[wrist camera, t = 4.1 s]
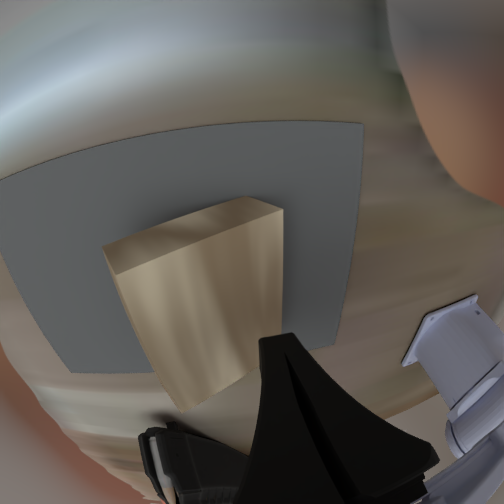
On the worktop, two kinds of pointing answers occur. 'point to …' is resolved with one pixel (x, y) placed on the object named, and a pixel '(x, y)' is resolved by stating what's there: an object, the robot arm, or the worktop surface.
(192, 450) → the magazine
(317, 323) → the mat
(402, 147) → the worktop surface
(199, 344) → the tile
